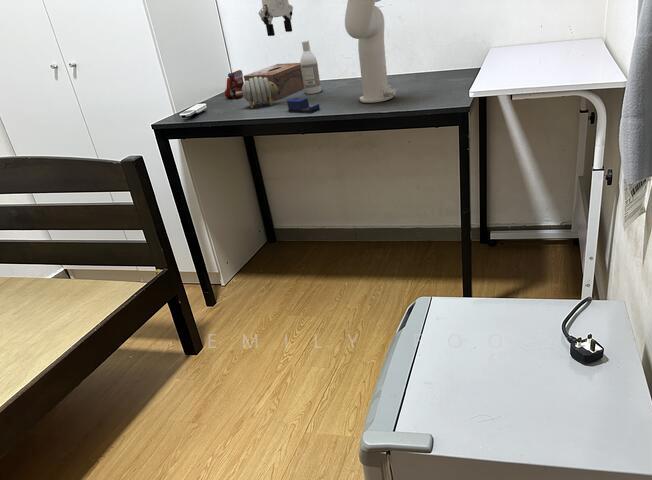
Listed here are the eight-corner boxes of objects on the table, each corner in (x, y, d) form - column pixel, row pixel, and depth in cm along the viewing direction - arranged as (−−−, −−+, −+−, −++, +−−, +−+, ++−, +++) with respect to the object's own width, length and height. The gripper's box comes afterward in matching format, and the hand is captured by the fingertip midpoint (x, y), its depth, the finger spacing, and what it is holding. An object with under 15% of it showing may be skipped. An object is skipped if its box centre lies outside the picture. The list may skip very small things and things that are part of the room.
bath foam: (322, 92, 233) (315, 40, 223) (306, 95, 232) (298, 43, 222) (319, 89, 239) (312, 39, 228) (304, 92, 238) (295, 41, 227)
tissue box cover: (281, 87, 255) (277, 63, 250) (308, 86, 249) (304, 62, 244) (248, 100, 236) (243, 75, 231) (276, 100, 230) (272, 74, 225)
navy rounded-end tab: (319, 109, 205) (318, 98, 203) (311, 113, 202) (309, 101, 200) (294, 108, 212) (292, 97, 210) (286, 111, 209) (284, 100, 206)
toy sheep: (282, 104, 220) (277, 75, 215) (240, 112, 217) (233, 82, 212) (278, 100, 229) (273, 71, 224) (238, 107, 226) (231, 78, 221)
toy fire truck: (223, 100, 243) (217, 75, 238) (239, 93, 253) (233, 69, 248) (236, 99, 241) (230, 74, 235) (251, 93, 250) (246, 68, 245)
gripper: (261, -16, 195) (271, 37, 204) (294, -21, 207) (302, 29, 215) (246, -15, 199) (257, 37, 208) (280, -19, 211) (288, 30, 220)
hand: (280, 33), depth 212 cm, fingers open, 9 cm apart
